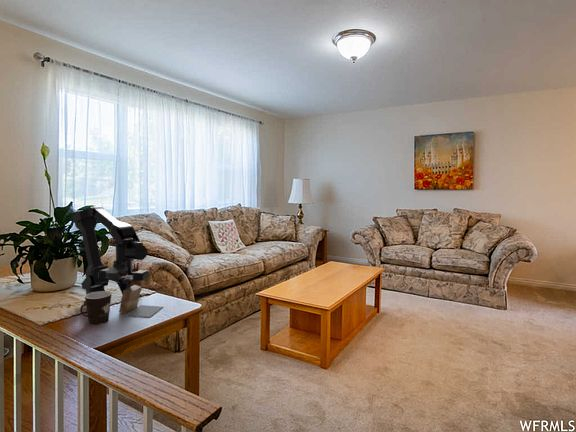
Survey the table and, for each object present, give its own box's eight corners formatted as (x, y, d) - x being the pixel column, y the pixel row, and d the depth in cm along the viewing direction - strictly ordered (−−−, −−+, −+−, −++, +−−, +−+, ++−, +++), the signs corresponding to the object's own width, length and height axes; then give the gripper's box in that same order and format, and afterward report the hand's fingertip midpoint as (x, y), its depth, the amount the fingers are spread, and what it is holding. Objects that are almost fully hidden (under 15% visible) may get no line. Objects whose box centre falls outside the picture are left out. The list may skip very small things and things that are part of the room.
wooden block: (118, 312, 135) (123, 290, 134) (130, 305, 143) (134, 284, 142) (126, 314, 135) (130, 292, 134) (137, 307, 143) (141, 286, 142)
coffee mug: (105, 314, 134) (105, 289, 133) (116, 321, 128) (115, 294, 128) (72, 323, 125) (71, 296, 124) (81, 330, 120) (81, 302, 119)
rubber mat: (125, 315, 134) (125, 314, 134) (140, 305, 144) (140, 305, 144) (149, 317, 133) (149, 316, 132) (163, 307, 143) (163, 306, 143)
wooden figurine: (144, 293, 160) (144, 261, 159) (137, 297, 155) (137, 264, 153) (130, 292, 161) (130, 260, 160) (123, 296, 155) (122, 263, 154)
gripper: (88, 260, 130) (89, 300, 132) (134, 262, 128) (135, 303, 130) (106, 254, 141) (107, 291, 143) (150, 256, 139) (150, 294, 141)
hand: (124, 295), depth 139 cm, fingers closed
